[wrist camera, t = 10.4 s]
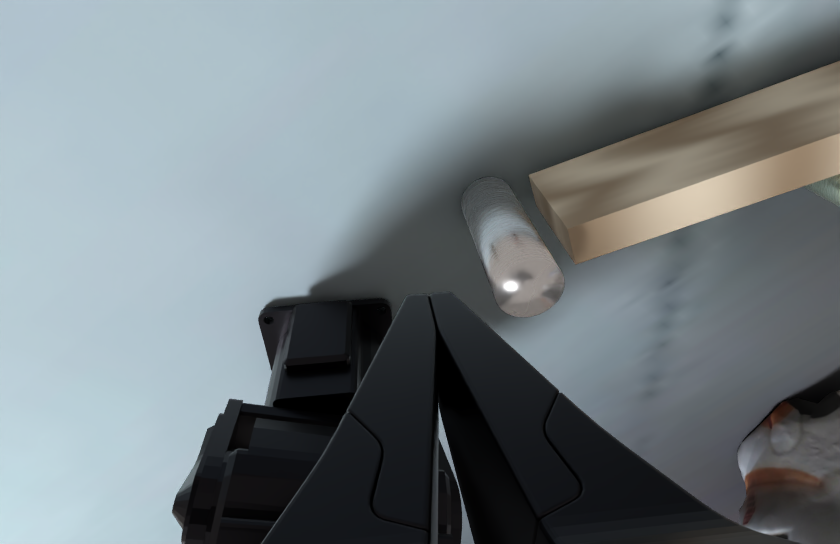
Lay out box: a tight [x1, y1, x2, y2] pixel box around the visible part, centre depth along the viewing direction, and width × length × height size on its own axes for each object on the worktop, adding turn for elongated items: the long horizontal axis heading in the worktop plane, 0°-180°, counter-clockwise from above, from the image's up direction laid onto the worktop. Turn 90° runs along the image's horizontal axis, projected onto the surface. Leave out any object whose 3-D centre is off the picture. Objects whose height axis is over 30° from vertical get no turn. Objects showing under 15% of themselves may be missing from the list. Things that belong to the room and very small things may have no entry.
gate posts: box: [461, 174, 840, 317], centre depth 20 cm, size 2×16×7 cm, turn 99°
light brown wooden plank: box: [529, 61, 840, 265], centre depth 19 cm, size 17×2×5 cm, turn 110°
